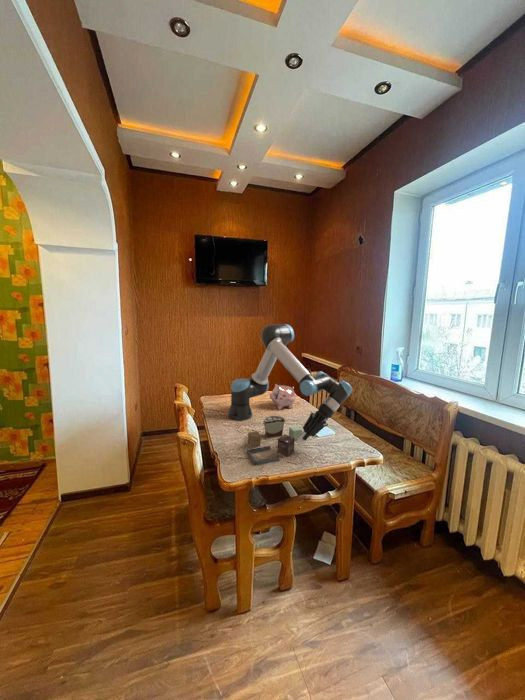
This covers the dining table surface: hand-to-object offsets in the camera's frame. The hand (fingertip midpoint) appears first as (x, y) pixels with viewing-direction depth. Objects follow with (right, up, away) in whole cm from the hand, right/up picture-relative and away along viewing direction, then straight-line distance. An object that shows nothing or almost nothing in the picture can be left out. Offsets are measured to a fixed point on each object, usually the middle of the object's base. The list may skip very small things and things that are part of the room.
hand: (297, 443), depth 135 cm
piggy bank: (-4, +6, +60) cm, 60 cm away
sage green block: (0, -2, +12) cm, 13 cm away
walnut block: (-22, -2, +5) cm, 22 cm away
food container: (-12, -1, +16) cm, 20 cm away
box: (-6, -4, -2) cm, 7 cm away
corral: (-17, -4, -6) cm, 19 cm away
